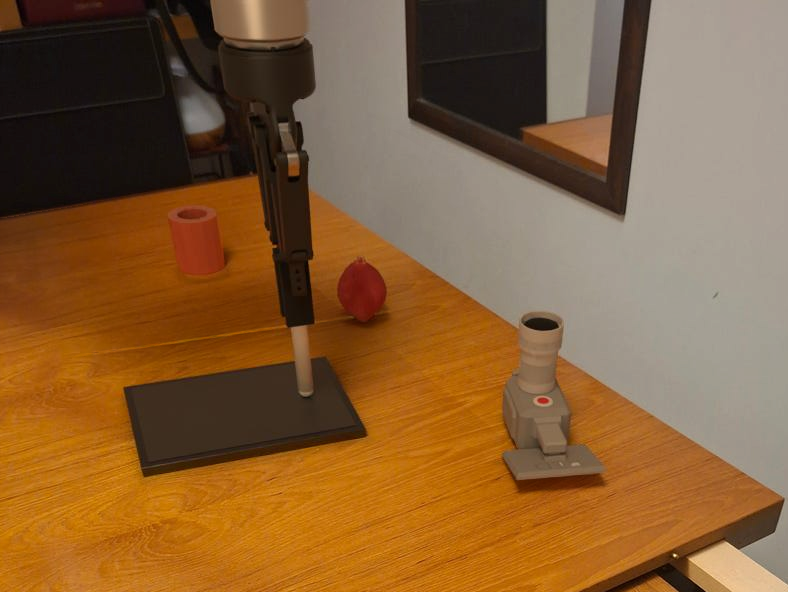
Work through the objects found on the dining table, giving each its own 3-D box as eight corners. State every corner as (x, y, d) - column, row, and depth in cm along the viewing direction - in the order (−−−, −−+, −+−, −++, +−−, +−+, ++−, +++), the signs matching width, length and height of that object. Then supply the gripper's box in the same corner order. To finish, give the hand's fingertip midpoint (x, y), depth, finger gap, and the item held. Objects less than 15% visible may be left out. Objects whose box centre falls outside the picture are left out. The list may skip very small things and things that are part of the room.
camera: (576, 303, 88) (621, 381, 78) (564, 408, 97) (603, 491, 86) (490, 307, 87) (524, 388, 77) (485, 414, 95) (515, 499, 85)
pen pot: (175, 262, 120) (164, 207, 115) (221, 257, 122) (212, 203, 117) (182, 280, 116) (170, 225, 111) (229, 275, 118) (220, 219, 113)
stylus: (297, 393, 95) (278, 238, 84) (312, 390, 95) (296, 236, 84) (300, 400, 94) (282, 245, 83) (316, 398, 94) (300, 243, 83)
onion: (330, 319, 110) (324, 253, 104) (367, 306, 113) (363, 241, 107) (359, 336, 107) (354, 269, 101) (396, 322, 110) (394, 256, 104)
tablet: (125, 395, 96) (122, 386, 95) (326, 363, 102) (325, 355, 101) (143, 477, 85) (140, 467, 85) (366, 436, 91) (365, 427, 91)
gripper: (333, 57, 68) (354, 347, 85) (290, 16, 78) (316, 284, 95) (234, 63, 66) (276, 359, 83) (202, 20, 76) (245, 293, 92)
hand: (297, 318), depth 89 cm, fingers closed on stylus, 2 cm apart
